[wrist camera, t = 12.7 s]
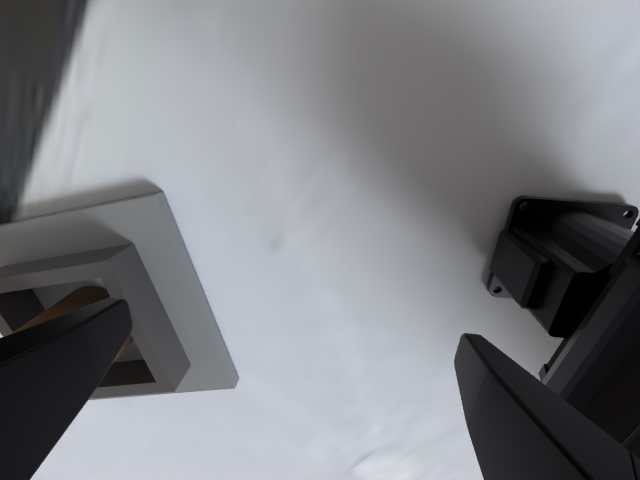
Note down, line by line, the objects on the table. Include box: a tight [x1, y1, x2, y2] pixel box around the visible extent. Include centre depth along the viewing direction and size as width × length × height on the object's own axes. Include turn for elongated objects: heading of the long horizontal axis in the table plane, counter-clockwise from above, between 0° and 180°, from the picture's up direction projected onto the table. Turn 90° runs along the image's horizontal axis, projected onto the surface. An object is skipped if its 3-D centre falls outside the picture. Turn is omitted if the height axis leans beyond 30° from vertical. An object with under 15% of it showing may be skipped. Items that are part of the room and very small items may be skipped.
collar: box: [0, 191, 239, 400], centre depth 23 cm, size 16×16×4 cm
